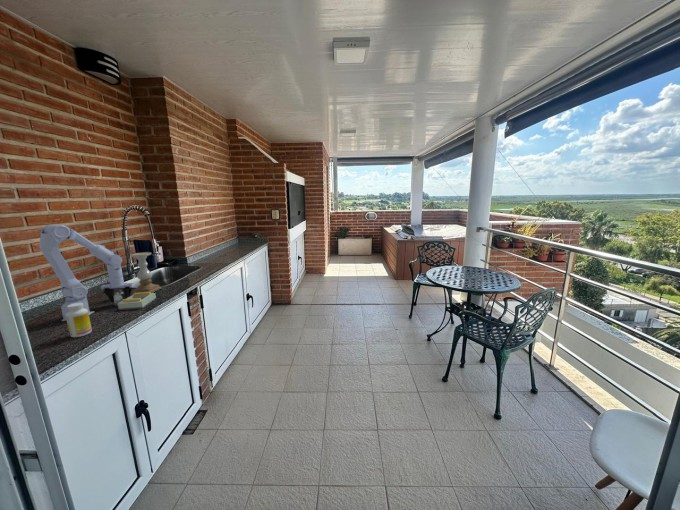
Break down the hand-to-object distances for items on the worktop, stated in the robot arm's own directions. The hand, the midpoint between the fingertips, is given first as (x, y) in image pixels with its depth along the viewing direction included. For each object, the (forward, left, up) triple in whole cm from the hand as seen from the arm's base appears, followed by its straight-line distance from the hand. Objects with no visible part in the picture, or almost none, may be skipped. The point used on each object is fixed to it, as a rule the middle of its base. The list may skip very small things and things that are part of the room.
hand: (120, 301), depth 146 cm
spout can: (0, 0, -2) cm, 2 cm away
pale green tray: (-3, -10, -2) cm, 11 cm away
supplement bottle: (-36, -5, -2) cm, 36 cm away
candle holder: (+19, -4, -2) cm, 19 cm away
